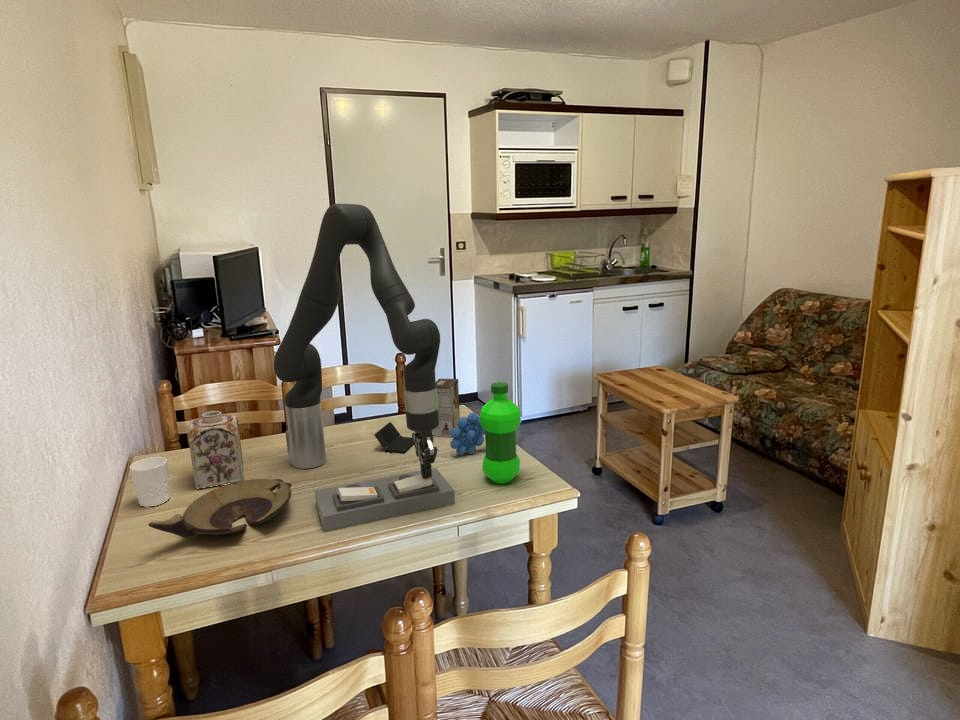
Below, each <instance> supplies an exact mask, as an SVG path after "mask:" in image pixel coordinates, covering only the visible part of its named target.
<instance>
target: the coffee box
mask: <svg viewBox="0 0 960 720" xmlns="http://www.w3.org/2000/svg"><path fill="white" fill-rule="evenodd" d="M436 391H437V396H438V410H439V426H438V427H437V428H435V429H433V435H434V437H436V436H440V437H441V438H442V437H443V438H452V436H451V431H452V429H453V428H455V427H458V424H457V423H458V420H459V419H460V418H461V415H460V413H461V411H460V393H459V378H438V379H437V380H436Z"/></svg>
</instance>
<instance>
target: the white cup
mask: <svg viewBox="0 0 960 720" xmlns="http://www.w3.org/2000/svg"><path fill="white" fill-rule="evenodd" d="M129 470H130V474H131V479H132V483H133V487H134V490H135V494H136V497H137V501H138V504H140V505H139V506H140V507H141V506H154V505H158V504H161V503H164V502H165V501H167V500H168V499H169V498H170V499H171V491H170V477H169V474H170V473H169V467H168V459H167V458H166V457H164V456H152V457H146V458H143V459H139V460H137V461H134V462H133V463H131V464H130V465H129ZM170 499H169V500H170ZM167 502H168V501H167ZM164 504H165V503H164Z"/></svg>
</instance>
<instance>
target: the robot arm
mask: <svg viewBox="0 0 960 720" xmlns="http://www.w3.org/2000/svg"><path fill="white" fill-rule="evenodd" d="M380 230H381V229H380V228H379V225H378V223H377V220H376V218H375V216H374V214H373V213H372V211H371V209H369V208H368V207H367V206H366V205H363V204H357V203H355V204H354V203H334V204H333V203H332V204H331V205H329V207H328V208H327V209H326V211H325V212H324V214H323V216H322V220H321V223H320V228H319V231H318V235H317V240H316V245H315V248H314V253H313V256H312V260H311V263H310V266H309V269H308V272H307V275H306V278H305V280H304V283H303V286H302V289H301V292H300V294H299V297H298V300H297V303H296V307H295V309H294V312H293V314H292V317H291V319H290V322H289V325H288V327H287V330H286V332H285V333H284V336H283V339H282V341H281V342H280V344H279V346H278V348H277V350H276V352H275V355H274V359H273V370H274V375H276V378H277V379H278V380H279V381H281V382H283V383H294V382H295V384H294V385H293V386H292V388H291V389H290V390H289V391H287V392H286V393H285V395H284V404H285V414H286V423H287V430H286V431H285V439H286V440H285V441H286V448H287V449H286V450H287V459H288V464H289V465H291V466H292V467H293V468H295V469H303V470H304V469H312V468H317V467H319V466H322V465H324V464H325V463H326V461H327V453H326V443H325V442H326V441H325V432H324V431H325V430H324V423H323V412H322V410H323V409H322V403H321V395H322V392H323V374H322V373H323V372H322V360H321V357H320V355H321V354H320V353H319V351H318V349H317V347H315V346H314V345H313V344H312V343H311V342H312V341H313V340H314V339H315V337H316V336H317V335H318V334H319V333H320V332H321V331H322V330H323V329H324V328H325V326H326V325H328V324H329V322H330V321H331V320H332V318H333V316H334V314H335V312H336V309H337V307H338V304H339V302H340V300H341V296H342V284H341V283H342V282H341V279H340V276H339V273H338V263H339V260H340V256H341V254H342V252H343V250H344V248H345V246H348V245H350V246H351V245H352V246H353V245H357V246H359V247H360V248H361V249H362V251H363V252H364V254H365V255H366V257H367V259H368V263H369V271H370V285H371V286H370V287H371V289H372V293H373V294H374V297H375V299H376V300H377V302H378V303H379V306H380V307H381V308H382V311H383V312H384V314H385V316H386V320H387V324H388V327H389V331H390V336H391V339H392V342H393V345H394V347H396V349H397V350H398V351H399V352H401V353H402V354H404V355H406V356H410V355H412V356H413V355H414V358H412V360H411V361H409V362H408V363H407V364H406V365H405V366H404V369H403V378H404V406H405V407H404V408H405V420H406V422H405V423H406V428H407V429H408V430H410V431H412V432H411V437H412V438H413V442H414V445H413V446H414V449H415V454H416V457H418V461H419V465H420V471H421V476H422V477H423V479H425V478H428V477H429V478H431V477H432V470H431V469H432V464H435V462H436V461H435V460H436V458H437V456H438V455H437V454H438V450H439V449H438V447H437V446H434V445H435V444H434V443H435V436H434V434H433V431H434V429H435V428H437V427H438V426H439V410H438V396H437V391H436V381H437V380H436V367H437V363H438V357H439V351H440V345H441V333H440V330H439V327H438V325H437V324H436V322H434V321H433V320H432V319H430V318H422V319H418V320H413V321H411V320H410V318H409V315H410V314H412V312H413V311H414V309H415V308H416V305H415V300H414V298H413V296H412V295H411V293H410V291H409V290H408V288H407V287H406V285H405V283H404V282H403V280H402V278H401V277H400V275H399V273H398V271H397V269H396V267H395V265H394V262H393V260H392V257H391V256H390V253H389V249H388V247H387V244H386V242H385V239H384V238H383V235H382V233H381V231H380Z"/></svg>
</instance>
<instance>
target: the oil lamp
mask: <svg viewBox="0 0 960 720" xmlns="http://www.w3.org/2000/svg"><path fill="white" fill-rule="evenodd" d="M291 487H292V483H291V482H285V481H284V480H282V479H281V478H276V479H275V478H274V479H272V478H254V479H253V478H252V479H244V481H239V482H235V483H230V484H227V485H223V486H218V488H214V489H212V490H210V491H208V492H206V493H204V494H203V495H201V496H200V497H197V499H195V500H193V502H192V503H190V505H188V507H187V508H186V509H185V511H184V512H183V514H179V513H177V514H174V515H173V516H172V517H170V518H168V519H166V520H159V521H157V520H156V521H154V520H152V521H150V522H149V523H147V524H148V527H149V528H153V529H156V530H157V531H162V532H166V533H169V534H173V535H176V536H179V537H182V538H193V537H195V536H196V535H202V534H204V535H205V534H207V535H223V534H230V533H236V532H240V531H243V530H245V529H246V528H247V526H248V525H247V524H249V525H251V526H255V525H260V524H262V523H264V522H266V521H269V520H271V518H273V517H274V516H276V515H277V514H279V512H281V511H282V510H283V509H284V508H285V507H286V506H287V504H289V501H290V500H291V498H292V489H291ZM275 489H277V490H276V491H275V492H274V490H275ZM242 517H245V520H246V522H247V523H243V524H240V525H237V526H233V523H234V522H236V521H238V520H239V519H241V518H242ZM232 522H233V523H232Z"/></svg>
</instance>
